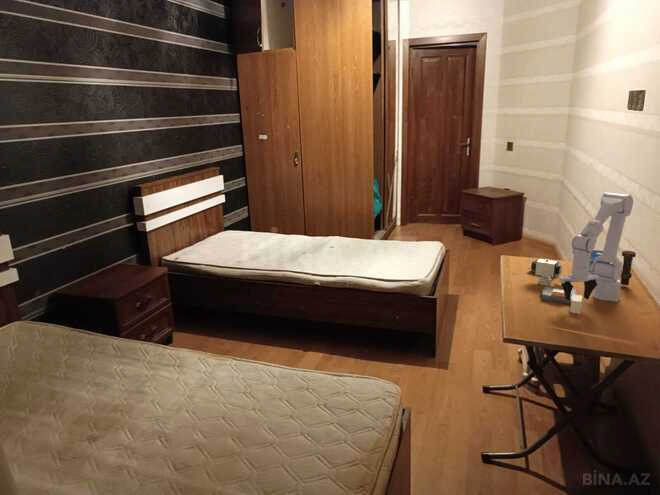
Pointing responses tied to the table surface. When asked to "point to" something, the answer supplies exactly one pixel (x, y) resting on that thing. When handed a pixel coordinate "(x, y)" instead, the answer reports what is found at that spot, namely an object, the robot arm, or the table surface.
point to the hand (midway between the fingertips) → (576, 299)
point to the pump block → (576, 304)
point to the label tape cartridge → (592, 258)
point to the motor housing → (556, 294)
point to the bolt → (627, 266)
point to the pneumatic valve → (546, 270)
